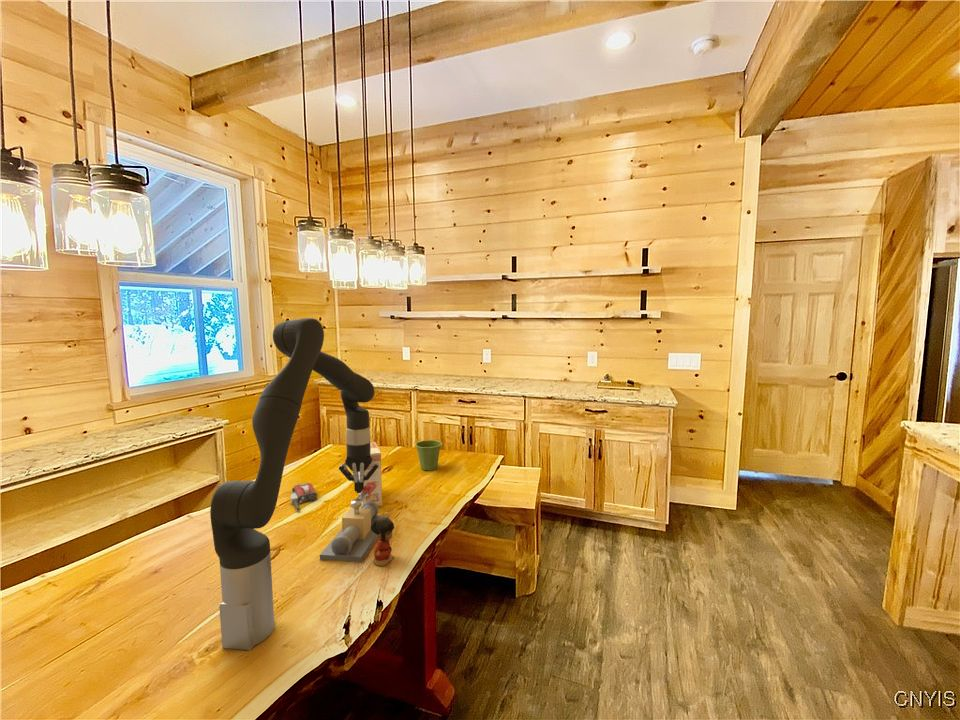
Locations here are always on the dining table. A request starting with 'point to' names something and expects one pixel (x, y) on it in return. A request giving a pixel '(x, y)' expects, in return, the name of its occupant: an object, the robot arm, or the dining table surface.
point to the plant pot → (428, 453)
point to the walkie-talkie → (302, 494)
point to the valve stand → (354, 535)
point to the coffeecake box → (374, 476)
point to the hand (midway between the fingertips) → (359, 492)
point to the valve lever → (363, 494)
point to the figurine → (382, 541)
